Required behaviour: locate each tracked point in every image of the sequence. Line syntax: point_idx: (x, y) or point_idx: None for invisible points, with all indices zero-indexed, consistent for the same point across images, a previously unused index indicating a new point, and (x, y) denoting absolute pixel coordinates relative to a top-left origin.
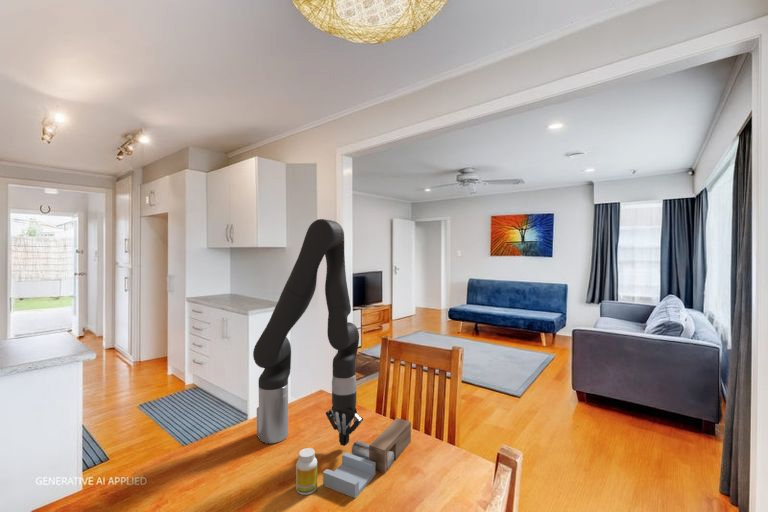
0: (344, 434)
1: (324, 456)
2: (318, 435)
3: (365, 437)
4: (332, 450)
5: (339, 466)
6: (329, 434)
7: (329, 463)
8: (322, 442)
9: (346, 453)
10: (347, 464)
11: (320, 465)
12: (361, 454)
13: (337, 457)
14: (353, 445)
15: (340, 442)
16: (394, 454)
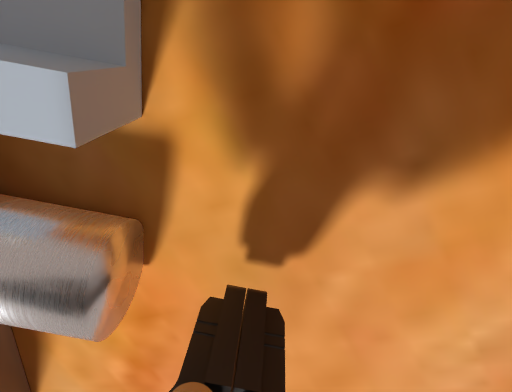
0: (192, 386)
1: (363, 159)
2: (494, 362)
3: None
4: (326, 245)
5: (119, 6)
6: (414, 380)
7: (277, 78)
8: (440, 307)
9: (40, 123)
10: (51, 53)
11: (352, 14)
12: (8, 211)
13: (248, 178)
14: (83, 277)
15: (262, 305)
16: None
